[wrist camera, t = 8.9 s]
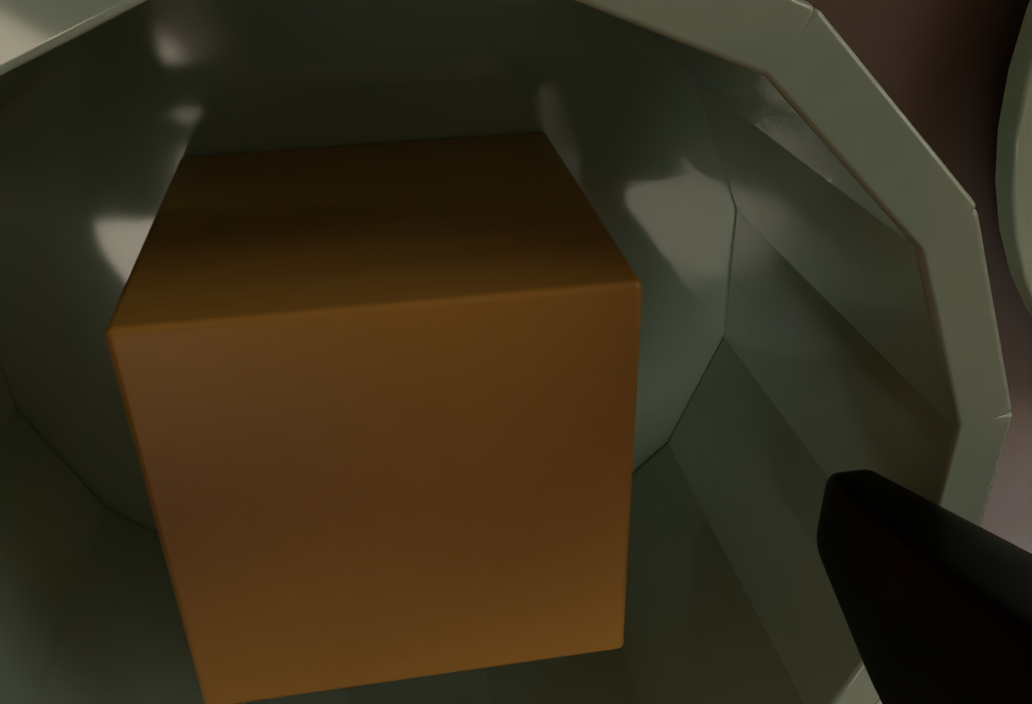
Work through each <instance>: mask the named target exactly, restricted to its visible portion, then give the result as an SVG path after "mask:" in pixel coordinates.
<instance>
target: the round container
mask: <svg viewBox="0 0 1032 704" xmlns="http://www.w3.org/2000/svg"><path fill="white" fill-rule="evenodd" d="M538 132H542V133H544V134H546V136H547V137H548V139H549V140H550V142H551V143H552V145H553V146H554V148H555V149H556V151H557V153H558V154H559V156H560V157H561V159H562V160H563V162H564V163H565V165H566V166H567V168H568V170H569V171H570V173H571V174H572V176H573V177H574V179H575V180H576V182H577V183H578V185H579V187H580V188H581V190H582V191H583V193H584V194H585V196H586V197H587V199H588V200H589V202H590V203H591V205H592V207H593V208H594V210H595V211H596V213H597V214H598V216H599V217H600V219H601V220H602V222H603V224H604V225H605V227H606V228H607V230H608V231H609V233H610V234H611V236H612V237H613V239H614V241H615V242H616V244H617V245H618V247H619V248H620V250H621V251H622V253H623V254H624V256H625V257H626V259H627V261H628V262H629V264H630V265H631V267H632V268H633V270H634V271H635V273H636V274H637V276H638V278H639V279H640V281H641V283H642V304H641V323H640V342H639V361H638V380H637V399H636V418H635V436H634V455H633V474H632V493H631V512H630V531H629V550H628V568H627V587H626V606H625V625H624V642H623V645H622V647H621V648H619V649H613V650H606V651H599V652H592V653H585V654H578V655H571V656H564V657H558V658H551V659H544V660H537V661H530V662H523V663H516V664H509V665H502V666H495V667H488V668H481V669H474V670H467V671H460V672H453V673H446V674H439V675H432V676H425V677H418V678H411V679H404V680H397V681H390V682H384V683H377V684H370V685H363V686H356V687H349V688H342V689H335V690H328V691H321V692H314V693H307V694H300V695H293V696H286V697H279V698H272V699H265V700H258V701H251V702H244V703H237V704H877V702H878V701H879V700H880V698H879V696H878V694H877V692H876V690H875V688H874V686H873V684H872V682H871V680H870V677H869V675H868V673H867V670H866V668H865V666H864V664H863V661H862V659H861V656H860V654H859V652H858V649H857V647H856V644H855V642H854V639H853V637H852V634H851V632H850V629H849V627H848V625H847V622H846V620H845V617H844V615H843V612H842V610H841V607H840V605H839V602H838V600H837V598H836V595H835V593H834V590H833V588H832V585H831V583H830V580H829V578H828V575H827V573H826V571H825V568H824V566H823V563H822V561H821V558H820V555H819V552H818V548H817V528H818V522H819V517H820V511H821V506H822V500H823V495H824V489H825V485H826V482H827V480H828V478H829V477H830V476H831V475H832V474H834V473H837V472H844V471H852V470H860V469H868V470H871V471H874V472H876V473H878V474H880V475H882V476H884V477H885V478H887V479H889V480H891V481H893V482H895V483H897V484H899V485H901V486H903V487H905V488H906V489H908V490H910V491H912V492H914V493H916V494H918V495H920V496H922V497H924V498H926V499H928V500H929V501H931V502H933V503H935V504H937V505H939V506H941V507H943V508H945V509H947V510H949V511H950V512H952V513H954V514H956V515H958V516H960V517H962V518H964V519H966V520H968V521H970V522H972V523H973V524H975V525H977V526H979V527H980V525H981V522H982V518H983V515H984V512H985V508H986V505H987V501H988V498H989V494H990V491H991V488H992V484H993V481H994V477H995V474H996V471H997V467H998V464H999V460H1000V457H1001V453H1002V450H1003V447H1004V443H1005V440H1006V436H1007V433H1008V430H1009V426H1010V423H1011V419H1012V414H1011V412H1010V411H1011V403H1010V397H1009V391H1008V385H1007V379H1006V374H1005V368H1004V362H1003V356H1002V351H1001V345H1000V339H999V333H998V327H997V322H996V316H995V310H994V304H993V298H992V293H991V287H990V281H989V275H988V270H987V264H986V258H985V252H984V246H983V241H982V235H981V229H980V223H979V218H978V213H977V211H976V209H975V202H974V200H973V199H972V198H971V197H970V195H969V194H968V193H967V192H966V191H965V189H964V188H963V187H962V186H961V184H960V183H959V182H958V181H957V179H956V178H955V177H954V176H953V174H952V173H951V172H950V171H949V169H948V168H947V167H946V166H945V164H944V163H943V162H942V161H941V159H940V158H939V157H938V156H937V154H936V153H935V152H934V151H933V150H932V148H931V147H930V146H929V145H928V143H927V142H926V141H925V140H924V138H923V137H922V136H921V135H920V133H919V132H918V131H917V130H916V128H915V127H914V126H913V125H912V123H911V122H910V121H909V120H908V118H907V117H906V116H905V115H904V114H903V112H902V111H901V110H900V109H899V107H898V106H897V105H896V104H895V102H894V101H893V100H892V99H891V97H890V96H889V95H888V94H887V92H886V91H885V90H884V89H883V87H882V86H881V85H880V84H879V82H878V81H877V80H876V79H875V77H874V76H873V75H872V74H871V73H870V71H869V70H868V69H867V68H866V66H865V65H864V64H863V63H862V61H861V60H860V59H859V58H858V56H857V55H856V54H855V53H854V51H853V50H852V49H851V48H850V46H849V45H848V44H847V43H846V41H845V40H844V39H843V38H842V37H841V35H840V34H839V33H838V32H837V30H836V29H835V28H834V27H833V25H832V24H831V23H830V22H829V20H828V19H827V18H826V17H825V15H824V14H823V13H822V12H821V10H819V9H816V8H814V7H813V6H812V4H811V3H810V2H808V1H806V0H0V704H205V703H204V701H203V697H202V693H201V690H200V686H199V682H198V679H197V675H196V671H195V668H194V664H193V660H192V656H191V653H190V649H189V645H188V642H187V638H186V634H185V631H184V627H183V623H182V620H181V616H180V612H179V609H178V605H177V601H176V597H175V594H174V590H173V586H172V583H171V579H170V575H169V572H168V568H167V564H166V561H165V557H164V553H163V550H162V546H161V542H160V538H159V535H158V531H157V527H156V524H155V520H154V516H153V513H152V509H151V505H150V502H149V498H148V494H147V490H146V487H145V483H144V479H143V476H142V472H141V468H140V465H139V461H138V457H137V454H136V450H135V446H134V443H133V439H132V435H131V431H130V428H129V424H128V420H127V417H126V413H125V409H124V406H123V402H122V398H121V395H120V391H119V387H118V384H117V380H116V376H115V372H114V369H113V365H112V361H111V358H110V354H109V350H108V347H107V343H106V339H105V336H104V335H105V330H106V327H107V325H108V323H109V320H110V318H111V316H112V314H113V311H114V309H115V307H116V304H117V302H118V300H119V298H120V295H121V293H122V291H123V289H124V286H125V284H126V282H127V280H128V277H129V275H130V273H131V271H132V268H133V266H134V264H135V262H136V259H137V257H138V255H139V253H140V250H141V248H142V246H143V244H144V241H145V239H146V237H147V235H148V232H149V230H150V228H151V225H152V223H153V221H154V219H155V216H156V214H157V212H158V210H159V207H160V205H161V203H162V201H163V198H164V196H165V194H166V192H167V189H168V187H169V185H170V183H171V180H172V178H173V176H174V174H175V171H176V169H177V167H178V165H179V162H180V160H181V159H182V158H184V157H189V156H203V155H218V154H232V153H247V152H262V151H276V150H291V149H305V148H320V147H334V146H349V145H364V144H378V143H393V142H407V141H422V140H436V139H451V138H465V137H480V136H495V135H509V134H524V133H538Z"/></svg>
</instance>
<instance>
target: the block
mask: <svg viewBox="0 0 1032 704" xmlns="http://www.w3.org/2000/svg"><path fill="white" fill-rule="evenodd" d="M641 304H642V283H641V281H640V279H639V278H638V276H637V274H636V273H635V271H634V270H633V268H632V267H631V265H630V264H629V262H628V261H627V259H626V257H625V256H624V254H623V253H622V251H621V250H620V248H619V247H618V245H617V244H616V242H615V241H614V239H613V237H612V236H611V234H610V233H609V231H608V230H607V228H606V227H605V225H604V224H603V222H602V220H601V219H600V217H599V216H598V214H597V213H596V211H595V210H594V208H593V207H592V205H591V203H590V202H589V200H588V199H587V197H586V196H585V194H584V193H583V191H582V190H581V188H580V187H579V185H578V183H577V182H576V180H575V179H574V177H573V176H572V174H571V173H570V171H569V170H568V168H567V166H566V165H565V163H564V162H563V160H562V159H561V157H560V156H559V154H558V153H557V151H556V149H555V148H554V146H553V145H552V143H551V142H550V140H549V139H548V137H547V136H546V134H544V133H542V132H538V133H524V134H509V135H495V136H480V137H465V138H451V139H436V140H422V141H407V142H393V143H378V144H364V145H349V146H334V147H320V148H305V149H291V150H276V151H262V152H247V153H232V154H218V155H203V156H189V157H184V158H182V159H181V160H180V162H179V165H178V167H177V169H176V171H175V174H174V176H173V178H172V180H171V183H170V185H169V187H168V189H167V192H166V194H165V196H164V198H163V201H162V203H161V205H160V207H159V210H158V212H157V214H156V216H155V219H154V221H153V223H152V225H151V228H150V230H149V232H148V235H147V237H146V239H145V241H144V244H143V246H142V248H141V250H140V253H139V255H138V257H137V259H136V262H135V264H134V266H133V268H132V271H131V273H130V275H129V277H128V280H127V282H126V284H125V286H124V289H123V291H122V293H121V295H120V298H119V300H118V302H117V304H116V307H115V309H114V311H113V314H112V316H111V318H110V320H109V323H108V325H107V327H106V330H105V335H104V336H105V339H106V343H107V347H108V350H109V354H110V358H111V361H112V365H113V369H114V372H115V376H116V380H117V384H118V387H119V391H120V395H121V398H122V402H123V406H124V409H125V413H126V417H127V420H128V424H129V428H130V431H131V435H132V439H133V443H134V446H135V450H136V454H137V457H138V461H139V465H140V468H141V472H142V476H143V479H144V483H145V487H146V490H147V494H148V498H149V502H150V505H151V509H152V513H153V516H154V520H155V524H156V527H157V531H158V535H159V538H160V542H161V546H162V550H163V553H164V557H165V561H166V564H167V568H168V572H169V575H170V579H171V583H172V586H173V590H174V594H175V597H176V601H177V605H178V609H179V612H180V616H181V620H182V623H183V627H184V631H185V634H186V638H187V642H188V645H189V649H190V653H191V656H192V660H193V664H194V668H195V671H196V675H197V679H198V682H199V686H200V690H201V693H202V697H203V701H204V703H205V704H237V703H244V702H251V701H258V700H265V699H272V698H279V697H286V696H293V695H300V694H307V693H314V692H321V691H328V690H335V689H342V688H349V687H356V686H363V685H370V684H377V683H384V682H390V681H397V680H404V679H411V678H418V677H425V676H432V675H439V674H446V673H453V672H460V671H467V670H474V669H481V668H488V667H495V666H502V665H509V664H516V663H523V662H530V661H537V660H544V659H551V658H558V657H564V656H571V655H578V654H585V653H592V652H599V651H606V650H613V649H619V648H621V647H622V645H623V642H624V625H625V606H626V587H627V568H628V550H629V531H630V512H631V493H632V474H633V455H634V436H635V418H636V399H637V380H638V361H639V342H640V323H641Z"/></svg>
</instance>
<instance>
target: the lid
mask: <svg viewBox="0 0 1032 704" xmlns="http://www.w3.org/2000/svg"><path fill="white" fill-rule="evenodd" d="M995 189H996V201H997V213H998V225H999V231H1000V235H1001V239H1002V243H1003V247H1004V251H1005V255H1006V260H1007V264H1008V268H1009V271H1010V273H1011V276H1012V278H1013V280H1014V283H1015V285H1016V287H1017V289H1018V292H1019V294H1020V296H1021V299H1022V301H1023V303H1024V305H1025V308H1026V309H1027V310H1028V312H1029V313H1030V315H1031V316H1032V0H1030V1H1029V3H1028V6H1027V8H1026V11H1025V15H1024V18H1023V21H1022V25H1021V28H1020V32H1019V35H1018V38H1017V42H1016V45H1015V48H1014V52H1013V55H1012V59H1011V62H1010V65H1009V69H1008V73H1007V79H1006V84H1005V90H1004V95H1003V101H1002V107H1001V112H1000V118H999V123H998V131H997V149H996V168H995Z"/></svg>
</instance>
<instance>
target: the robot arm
mask: <svg viewBox="0 0 1032 704" xmlns="http://www.w3.org/2000/svg"><path fill="white" fill-rule="evenodd" d="M817 548H818V552H819V555H820V558H821V561H822V563H823V566H824V568H825V571H826V573H827V575H828V578H829V580H830V583H831V585H832V588H833V590H834V593H835V595H836V598H837V600H838V602H839V605H840V607H841V610H842V612H843V615H844V617H845V620H846V622H847V625H848V627H849V629H850V632H851V634H852V637H853V639H854V642H855V644H856V647H857V649H858V652H859V654H860V656H861V659H862V661H863V664H864V666H865V668H866V670H867V673H868V675H869V677H870V680H871V682H872V684H873V686H874V688H875V690H876V692H877V694H878V696H879V698H880V700H881V702H882V704H1032V554H1031V553H1029V552H1027V551H1025V550H1023V549H1021V548H1019V547H1017V546H1016V545H1014V544H1012V543H1010V542H1008V541H1006V540H1004V539H1002V538H1000V537H998V536H996V535H994V534H993V533H991V532H989V531H987V530H985V529H983V528H981V527H979V526H977V525H975V524H973V523H972V522H970V521H968V520H966V519H964V518H962V517H960V516H958V515H956V514H954V513H952V512H950V511H949V510H947V509H945V508H943V507H941V506H939V505H937V504H935V503H933V502H931V501H929V500H928V499H926V498H924V497H922V496H920V495H918V494H916V493H914V492H912V491H910V490H908V489H906V488H905V487H903V486H901V485H899V484H897V483H895V482H893V481H891V480H889V479H887V478H885V477H884V476H882V475H880V474H878V473H876V472H874V471H871V470H868V469H860V470H852V471H844V472H837V473H834V474H832V475H831V476H830V477H829V478H828V480H827V482H826V485H825V489H824V495H823V500H822V506H821V511H820V517H819V522H818V528H817Z"/></svg>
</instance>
